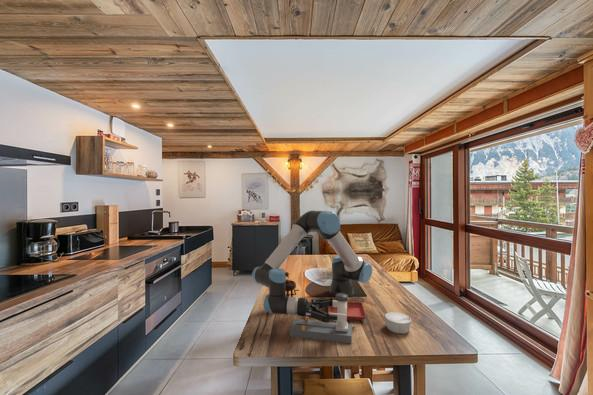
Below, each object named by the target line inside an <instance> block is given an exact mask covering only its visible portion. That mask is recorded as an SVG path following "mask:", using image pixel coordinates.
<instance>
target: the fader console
mask: <svg viewBox="0 0 593 395" xmlns="http://www.w3.org/2000/svg"><path fill="white" fill-rule="evenodd" d="M309 318H310V317H306V316H305V319H301V318H300V319H299V318H294V319H293V322H292V324H291V326H290V327H289V336H290V337H295V338H303V339H311V340H312V339H313V340H320V341H327V342H328V341H329V342H337V343H344V344H352V338H353V335H352V334H353V327H352V326H353V325H352V324H350V323H348V332H344V331H336V323H337V322H330V321H329V323H325V322H322V321H319V320H310V319H309Z"/></svg>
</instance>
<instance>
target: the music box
mask: <svg viewBox="0 0 593 395" xmlns="http://www.w3.org/2000/svg"><path fill="white" fill-rule="evenodd" d="M289 275H290V273H289V272H288V271H285V277H286V289H285V292H286V296H287V297H294V296H296V295H297V293H296V292H298V291H300V289H296V287H297V284H296V282H295V281H294V280H290V279H289V278H290V277H289ZM287 278H288V279H287Z"/></svg>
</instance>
